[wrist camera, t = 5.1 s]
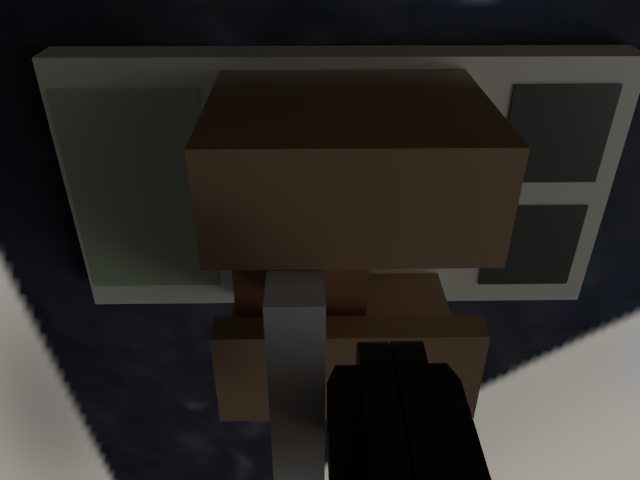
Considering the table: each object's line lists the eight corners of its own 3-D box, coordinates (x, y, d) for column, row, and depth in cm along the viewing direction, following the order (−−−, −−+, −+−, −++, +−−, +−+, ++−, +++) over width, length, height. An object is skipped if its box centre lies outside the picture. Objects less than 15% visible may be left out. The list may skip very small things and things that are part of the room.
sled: (225, 120, 19) (162, 308, 11) (374, 119, 19) (425, 305, 11) (238, 267, 23) (197, 501, 14) (366, 266, 23) (401, 497, 14)
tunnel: (49, 46, 20) (-86, 134, 13) (629, 44, 20) (792, 130, 13) (106, 282, 25) (31, 432, 18) (563, 278, 25) (656, 424, 19)
